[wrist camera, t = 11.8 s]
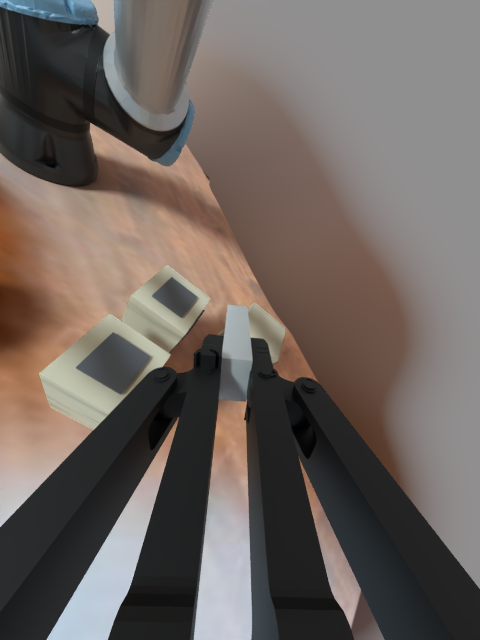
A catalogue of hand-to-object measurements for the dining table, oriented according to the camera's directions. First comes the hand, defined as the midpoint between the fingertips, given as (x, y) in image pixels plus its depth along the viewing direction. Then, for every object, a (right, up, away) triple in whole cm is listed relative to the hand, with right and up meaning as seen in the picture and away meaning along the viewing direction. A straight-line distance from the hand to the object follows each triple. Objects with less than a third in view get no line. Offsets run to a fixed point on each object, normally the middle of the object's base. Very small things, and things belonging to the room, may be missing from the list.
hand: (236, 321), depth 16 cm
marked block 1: (-15, -4, +19) cm, 25 cm away
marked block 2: (-18, -10, +12) cm, 24 cm away
